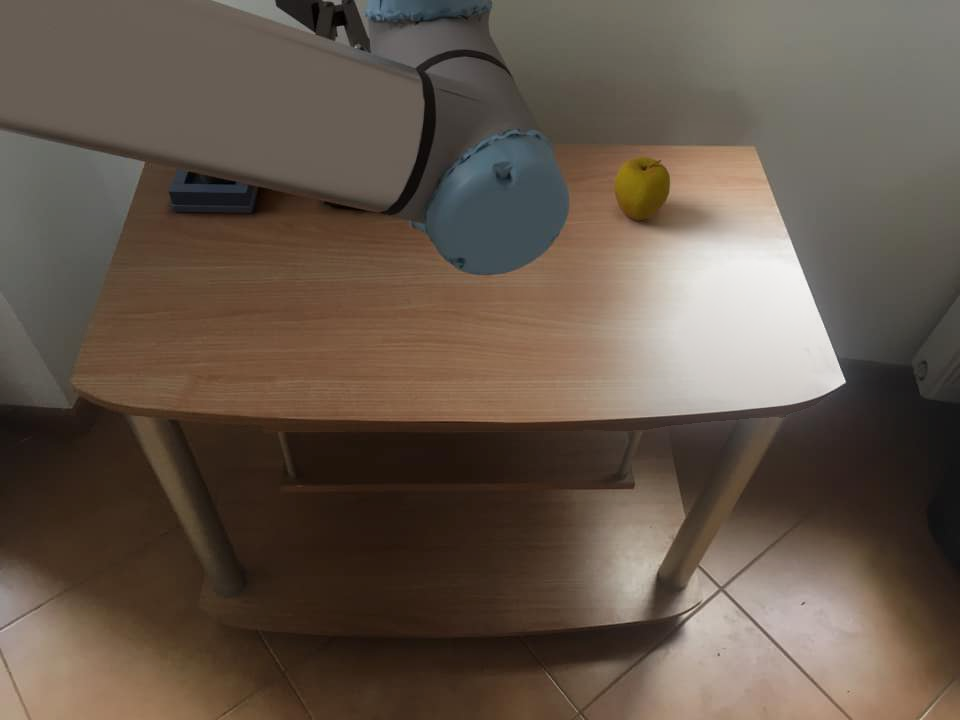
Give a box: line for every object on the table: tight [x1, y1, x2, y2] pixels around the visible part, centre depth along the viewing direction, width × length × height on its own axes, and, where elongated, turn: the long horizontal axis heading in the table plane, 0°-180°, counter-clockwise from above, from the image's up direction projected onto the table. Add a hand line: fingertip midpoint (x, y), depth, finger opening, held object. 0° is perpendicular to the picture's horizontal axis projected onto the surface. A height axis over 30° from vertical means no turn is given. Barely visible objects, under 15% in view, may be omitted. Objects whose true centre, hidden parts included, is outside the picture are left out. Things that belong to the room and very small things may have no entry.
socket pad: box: [168, 169, 259, 214], centre depth 95 cm, size 9×9×3 cm
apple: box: [614, 157, 671, 221], centre depth 93 cm, size 6×6×8 cm
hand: (213, 12), depth 72 cm, fingers open, 13 cm apart
